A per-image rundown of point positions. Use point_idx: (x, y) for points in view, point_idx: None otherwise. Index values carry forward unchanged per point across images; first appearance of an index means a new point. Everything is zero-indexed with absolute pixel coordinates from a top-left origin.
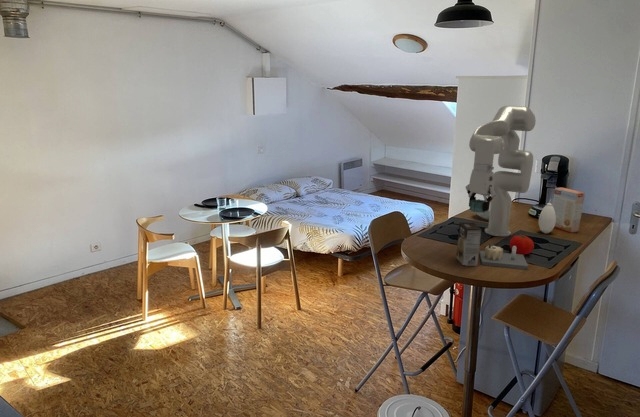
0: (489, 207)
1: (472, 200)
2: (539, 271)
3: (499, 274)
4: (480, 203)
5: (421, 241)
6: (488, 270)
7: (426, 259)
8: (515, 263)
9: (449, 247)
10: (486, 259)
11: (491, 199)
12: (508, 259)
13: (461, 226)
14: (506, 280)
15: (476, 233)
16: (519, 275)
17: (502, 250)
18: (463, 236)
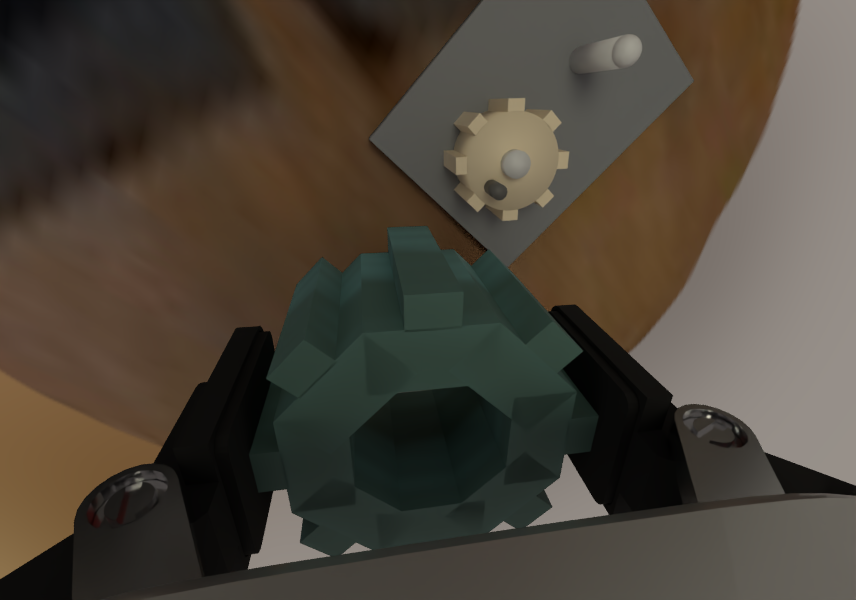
0: None
1: (317, 517)
2: (733, 39)
3: (617, 271)
4: (547, 507)
5: (33, 315)
6: (561, 282)
7: None
8: (628, 117)
9: (195, 228)
10: (499, 223)
11: (799, 488)
12: (568, 97)
13: None
14: (667, 293)
15: None
16: (681, 196)
17: (555, 124)
18: None
